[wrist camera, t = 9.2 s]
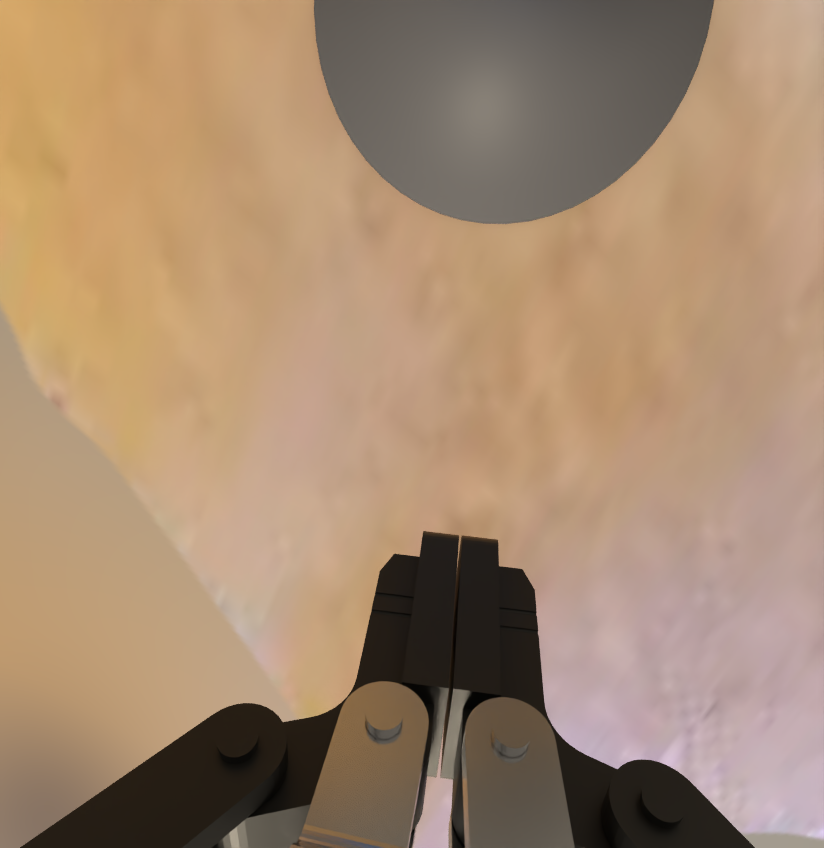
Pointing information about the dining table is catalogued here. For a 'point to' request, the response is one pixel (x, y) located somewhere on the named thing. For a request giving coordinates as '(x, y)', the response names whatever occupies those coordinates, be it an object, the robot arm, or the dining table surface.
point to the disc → (507, 94)
